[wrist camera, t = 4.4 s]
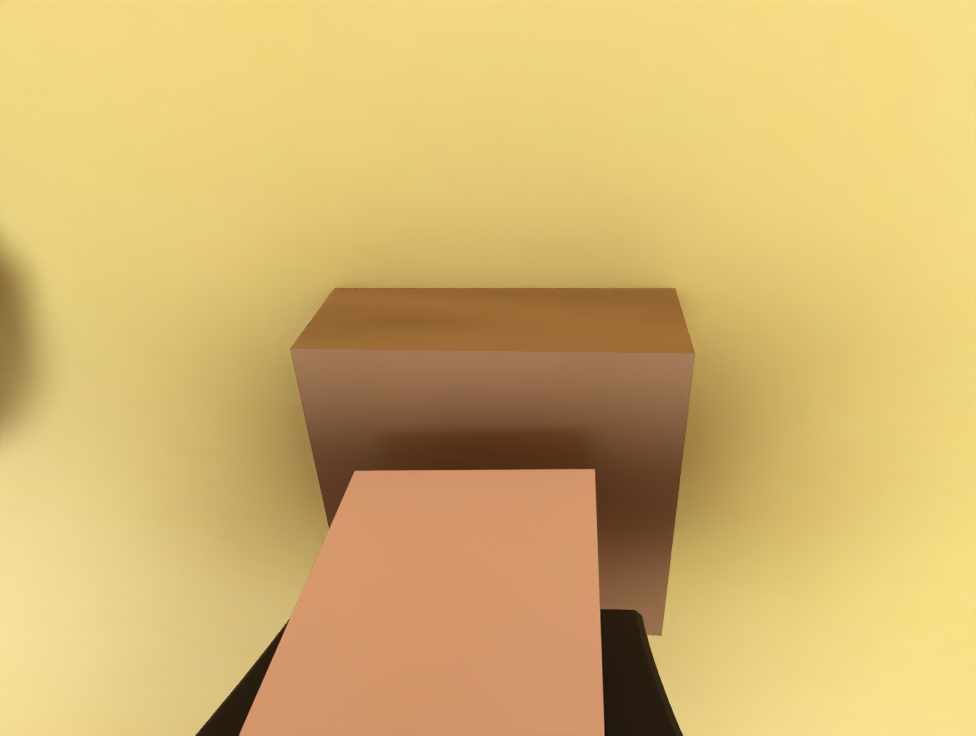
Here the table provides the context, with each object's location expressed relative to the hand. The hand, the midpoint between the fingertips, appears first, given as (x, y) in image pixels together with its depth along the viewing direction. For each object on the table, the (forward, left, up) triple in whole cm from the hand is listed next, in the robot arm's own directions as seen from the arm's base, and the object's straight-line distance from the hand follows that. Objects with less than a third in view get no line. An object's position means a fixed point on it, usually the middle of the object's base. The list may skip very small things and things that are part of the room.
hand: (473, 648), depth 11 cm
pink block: (0, 0, -2) cm, 2 cm away
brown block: (0, 0, -6) cm, 6 cm away
